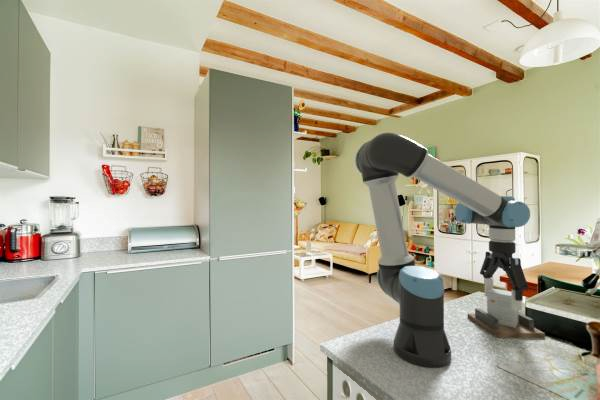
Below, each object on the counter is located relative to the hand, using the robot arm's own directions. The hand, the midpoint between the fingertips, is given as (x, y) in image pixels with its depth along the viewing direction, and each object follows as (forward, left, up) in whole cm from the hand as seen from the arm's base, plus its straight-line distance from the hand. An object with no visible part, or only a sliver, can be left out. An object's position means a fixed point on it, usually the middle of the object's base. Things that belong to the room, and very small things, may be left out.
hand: (501, 302), depth 98 cm
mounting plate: (0, 0, -8) cm, 8 cm away
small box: (0, 0, -7) cm, 7 cm away
